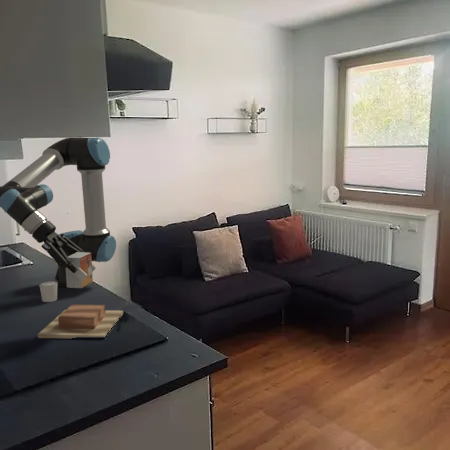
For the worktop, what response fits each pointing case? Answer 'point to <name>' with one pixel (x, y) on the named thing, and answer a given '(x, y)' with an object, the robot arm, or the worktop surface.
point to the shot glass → (48, 291)
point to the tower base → (82, 332)
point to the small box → (82, 262)
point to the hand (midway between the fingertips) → (89, 274)
